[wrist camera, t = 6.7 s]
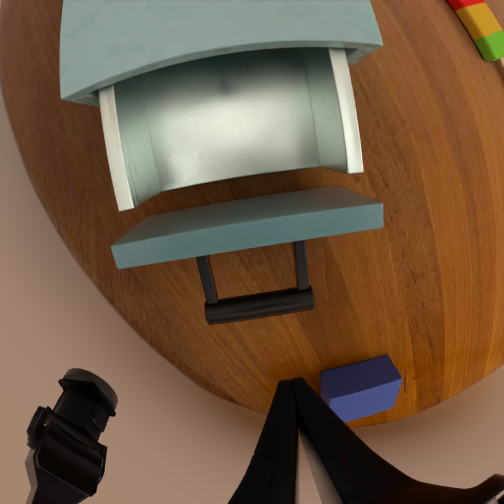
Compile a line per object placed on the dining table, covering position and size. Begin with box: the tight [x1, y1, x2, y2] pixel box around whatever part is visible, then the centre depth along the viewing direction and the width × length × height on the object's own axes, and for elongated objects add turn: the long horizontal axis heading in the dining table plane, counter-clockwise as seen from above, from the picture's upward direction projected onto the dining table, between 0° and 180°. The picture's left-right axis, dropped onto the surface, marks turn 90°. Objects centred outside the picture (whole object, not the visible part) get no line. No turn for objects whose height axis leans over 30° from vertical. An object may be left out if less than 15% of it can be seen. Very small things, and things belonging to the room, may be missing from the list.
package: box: [321, 355, 402, 422], centre depth 23 cm, size 5×7×4 cm, turn 99°
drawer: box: [98, 47, 383, 325], centre depth 13 cm, size 20×13×6 cm, turn 9°
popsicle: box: [447, 0, 504, 69], centre depth 12 cm, size 6×15×2 cm, turn 36°
